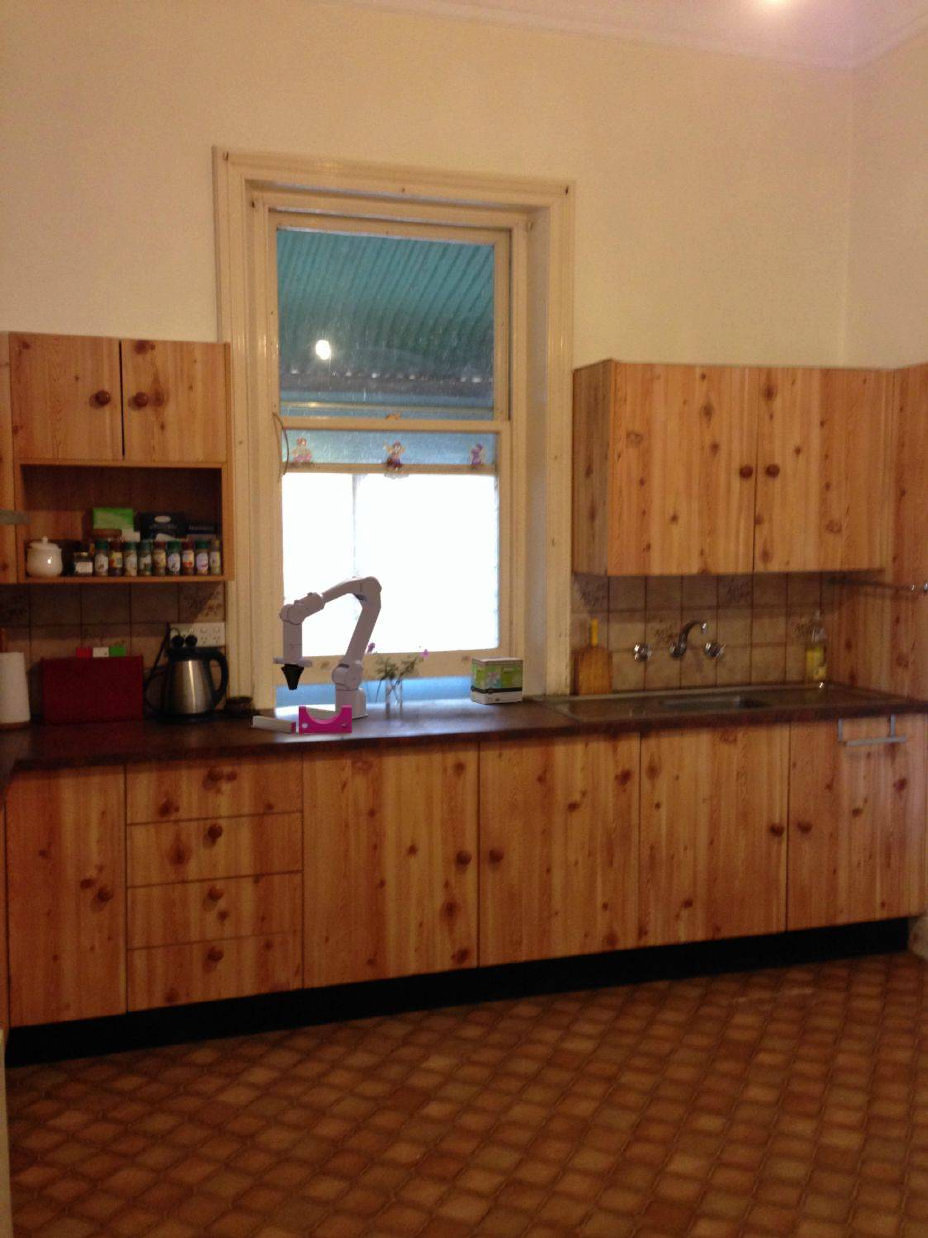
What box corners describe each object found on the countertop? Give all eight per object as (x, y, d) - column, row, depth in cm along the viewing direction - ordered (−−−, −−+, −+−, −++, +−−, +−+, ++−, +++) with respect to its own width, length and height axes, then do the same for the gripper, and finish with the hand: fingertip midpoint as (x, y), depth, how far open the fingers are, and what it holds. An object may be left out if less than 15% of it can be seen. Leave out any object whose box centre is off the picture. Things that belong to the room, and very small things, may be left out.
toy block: (351, 729, 315) (351, 703, 315) (351, 733, 309) (351, 707, 308) (298, 730, 313) (298, 704, 312) (298, 734, 307) (298, 708, 306)
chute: (309, 716, 335) (309, 706, 335) (347, 722, 325) (347, 712, 325) (250, 727, 317) (250, 717, 316) (288, 733, 307) (288, 723, 307)
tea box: (484, 705, 359) (485, 660, 358) (470, 700, 368) (470, 657, 367) (523, 701, 366) (523, 658, 365) (507, 697, 375) (508, 655, 374)
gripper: (265, 643, 323) (266, 689, 324) (300, 647, 315) (300, 693, 316) (282, 641, 329) (283, 686, 330) (317, 645, 320) (317, 690, 322)
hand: (292, 689), depth 323 cm, fingers closed
